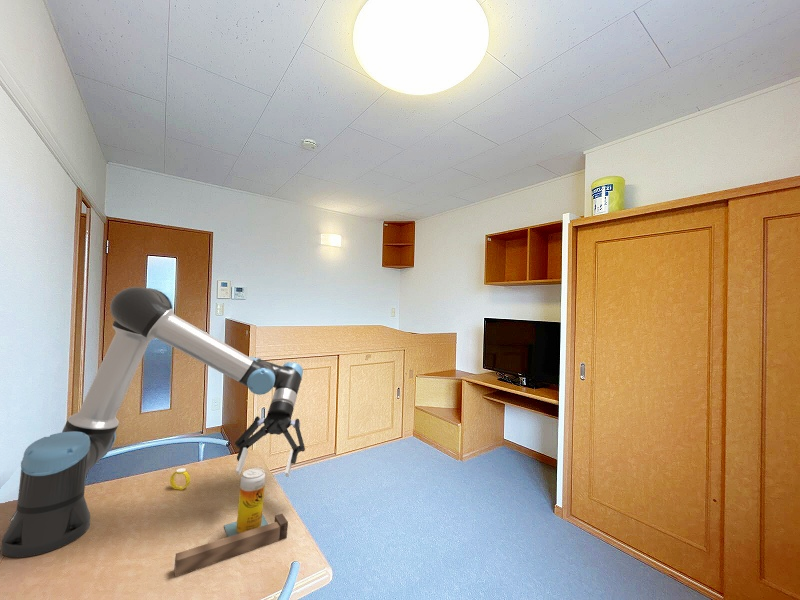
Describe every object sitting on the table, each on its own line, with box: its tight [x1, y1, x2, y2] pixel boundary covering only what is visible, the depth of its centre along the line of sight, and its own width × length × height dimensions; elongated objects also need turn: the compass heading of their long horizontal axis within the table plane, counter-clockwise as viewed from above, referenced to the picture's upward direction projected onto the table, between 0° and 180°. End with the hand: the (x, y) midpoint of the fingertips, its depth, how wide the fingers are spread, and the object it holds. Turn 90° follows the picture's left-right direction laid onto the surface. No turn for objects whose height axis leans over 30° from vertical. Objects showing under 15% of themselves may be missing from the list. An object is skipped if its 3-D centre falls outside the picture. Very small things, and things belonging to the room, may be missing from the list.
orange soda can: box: [236, 467, 266, 533], centre depth 90 cm, size 6×6×15 cm
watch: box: [169, 467, 191, 491], centre depth 108 cm, size 6×3×6 cm, turn 83°
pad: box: [223, 513, 269, 537], centre depth 90 cm, size 10×9×1 cm
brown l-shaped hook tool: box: [173, 513, 289, 578], centre depth 82 cm, size 24×4×4 cm, turn 128°
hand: (262, 474), depth 95 cm, fingers open, 13 cm apart
